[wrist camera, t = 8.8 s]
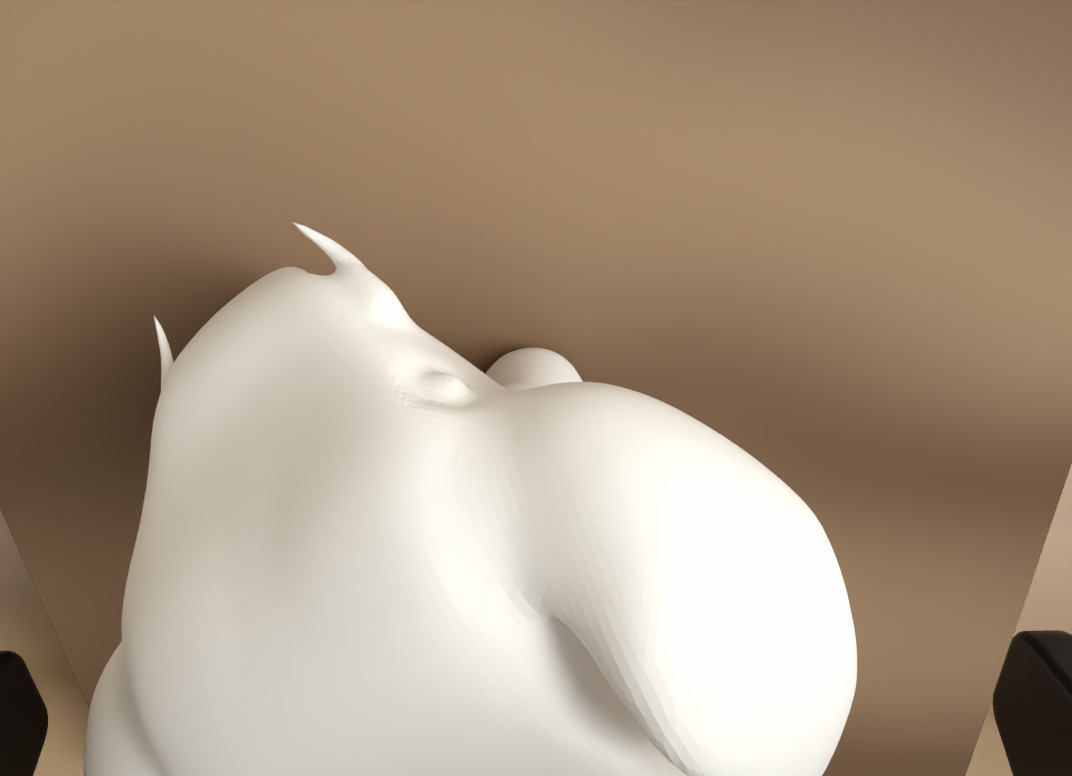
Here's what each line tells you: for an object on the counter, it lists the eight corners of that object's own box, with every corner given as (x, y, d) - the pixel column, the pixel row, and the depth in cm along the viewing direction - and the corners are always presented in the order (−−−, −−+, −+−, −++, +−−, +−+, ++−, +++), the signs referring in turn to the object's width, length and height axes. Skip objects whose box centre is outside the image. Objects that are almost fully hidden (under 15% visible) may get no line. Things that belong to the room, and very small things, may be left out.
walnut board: (919, 743, 17) (950, 818, 15) (174, 754, 17) (143, 829, 16) (1243, -377, 8) (1370, -418, 7) (-238, -305, 9) (-373, -330, 7)
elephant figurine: (532, 0, 9) (513, 227, 4) (873, 528, 12) (1118, 1032, 7) (66, 350, 11) (-369, 811, 6) (471, 716, 14) (430, 1212, 9)
